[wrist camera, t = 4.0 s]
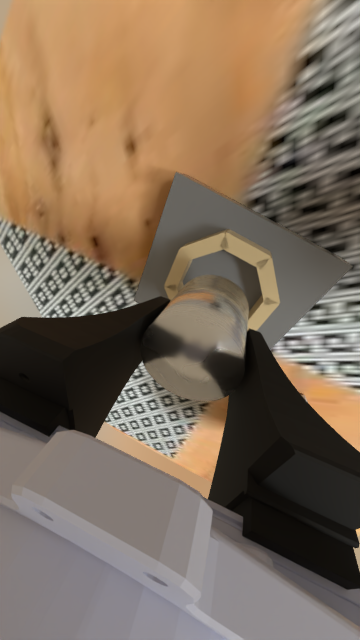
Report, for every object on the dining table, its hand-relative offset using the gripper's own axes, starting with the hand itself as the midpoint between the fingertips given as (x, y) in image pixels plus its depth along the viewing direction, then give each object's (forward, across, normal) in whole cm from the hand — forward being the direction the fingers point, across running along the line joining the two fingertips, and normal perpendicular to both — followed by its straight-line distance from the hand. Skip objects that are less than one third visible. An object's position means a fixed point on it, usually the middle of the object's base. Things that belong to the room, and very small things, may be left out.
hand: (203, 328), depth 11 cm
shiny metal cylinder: (+2, 0, 0) cm, 2 cm away
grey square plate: (+9, 0, 0) cm, 9 cm away
